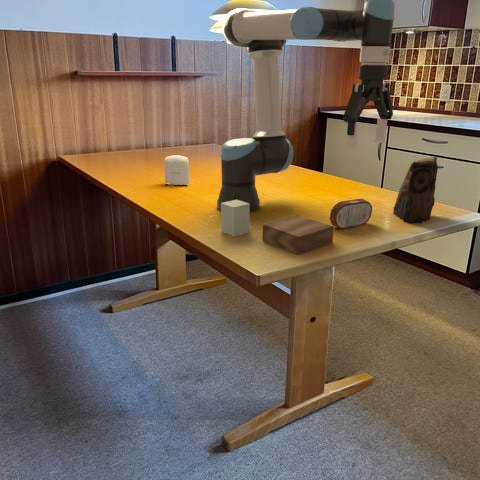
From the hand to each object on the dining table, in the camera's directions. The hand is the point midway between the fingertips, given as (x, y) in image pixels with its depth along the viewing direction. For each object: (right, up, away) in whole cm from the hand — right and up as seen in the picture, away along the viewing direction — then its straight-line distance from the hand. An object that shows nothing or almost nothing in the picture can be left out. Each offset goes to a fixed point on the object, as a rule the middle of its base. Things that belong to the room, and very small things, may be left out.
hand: (366, 144), depth 136 cm
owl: (+21, -19, +25) cm, 38 cm away
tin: (-1, -23, +16) cm, 28 cm away
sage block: (-37, -24, +10) cm, 45 cm away
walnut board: (-19, -27, +2) cm, 33 cm away
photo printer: (-61, -4, +67) cm, 91 cm away
